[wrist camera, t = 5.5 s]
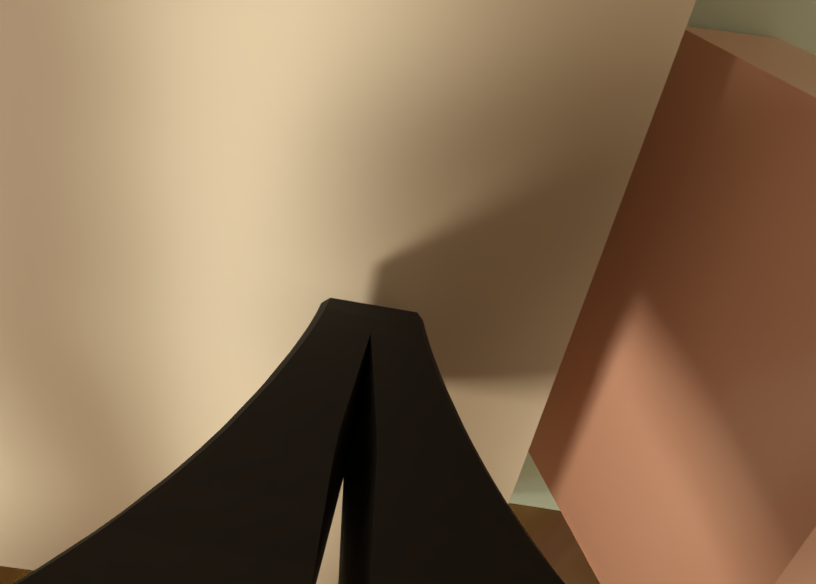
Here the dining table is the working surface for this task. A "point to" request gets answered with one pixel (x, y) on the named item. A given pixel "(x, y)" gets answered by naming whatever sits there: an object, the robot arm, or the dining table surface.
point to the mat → (726, 11)
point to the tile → (701, 337)
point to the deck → (292, 215)
